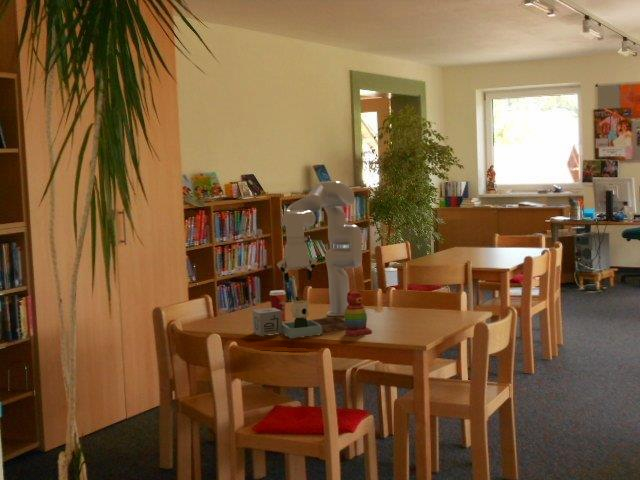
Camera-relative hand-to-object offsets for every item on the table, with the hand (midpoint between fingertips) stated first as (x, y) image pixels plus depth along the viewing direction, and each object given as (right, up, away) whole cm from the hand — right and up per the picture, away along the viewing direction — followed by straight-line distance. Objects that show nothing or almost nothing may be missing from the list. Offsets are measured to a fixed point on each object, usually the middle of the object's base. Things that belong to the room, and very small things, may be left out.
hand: (298, 280), depth 375 cm
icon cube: (-13, -23, +5) cm, 27 cm away
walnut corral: (+13, -21, +11) cm, 27 cm away
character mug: (+1, -22, 0) cm, 22 cm away
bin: (+1, -23, 0) cm, 23 cm away
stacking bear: (+25, -22, -6) cm, 34 cm away
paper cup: (-10, -20, +34) cm, 41 cm away
